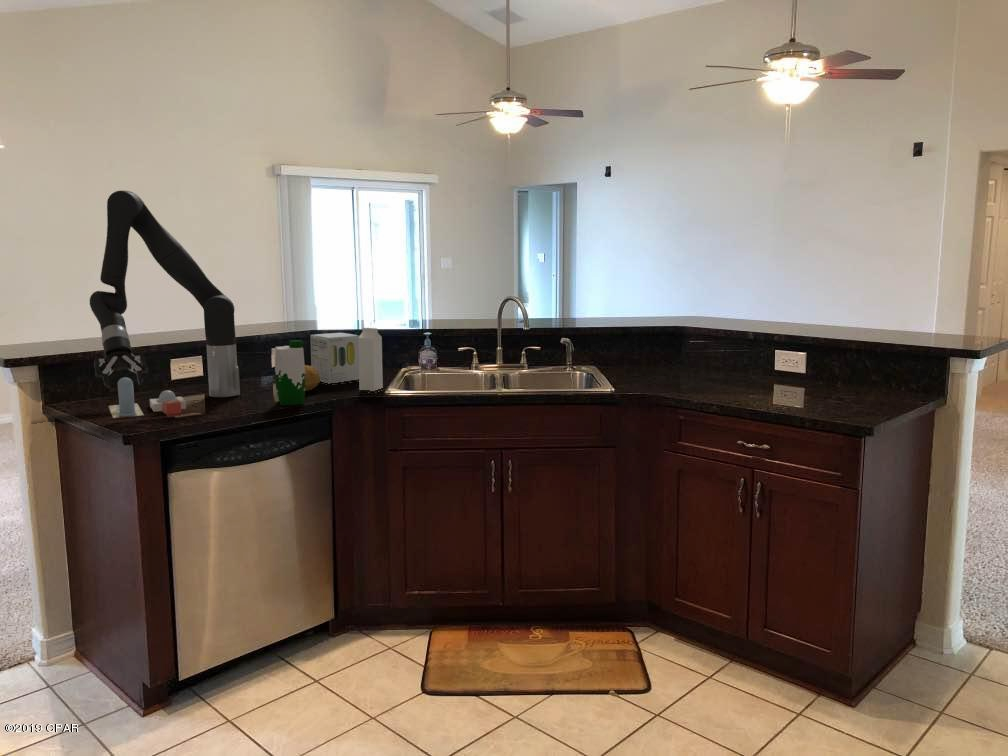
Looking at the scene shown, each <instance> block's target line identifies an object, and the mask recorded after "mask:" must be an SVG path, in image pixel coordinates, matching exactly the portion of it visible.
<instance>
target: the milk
mask: <svg viewBox="0 0 1008 756" xmlns="http://www.w3.org/2000/svg"><path fill="white" fill-rule="evenodd" d="M361 331H362V332H361V334H359V335H358V352H359V381H358V382H359V384H358V385H359V390H370V391H375V390H378V389H381V388H384V384H383V383H384V382H383V377H384V376H383V340H382V338H383V337H382V336H381V334H379V332H378V328H374V327H362V328H361Z"/></svg>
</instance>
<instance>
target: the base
mask: <svg viewBox="0 0 1008 756" xmlns="http://www.w3.org/2000/svg"><path fill="white" fill-rule="evenodd" d="M176 399H177V401H179V402H181V410H187V401H186V400H185V399H184V398H183V397H182V396H176ZM149 406H150V408H151V409H152V411H153V413H154V412H163V408H162V403H159V399H158V398H149Z"/></svg>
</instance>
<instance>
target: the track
mask: <svg viewBox="0 0 1008 756" xmlns="http://www.w3.org/2000/svg"><path fill="white" fill-rule="evenodd" d="M134 403H135V402H134ZM108 409H109V411H110V414H111V416H112V419H116V421H121V420H120V419H121V418H123V417H122V416H119V412H120V409H119V404H113V405H108ZM135 411H136V415H134V416H133V417H137V419H144V418H145V417H144V416H145V414H144V413H143V411H142V409H141V407H140V405H139V404H138V403H135ZM140 416H141V417H140ZM126 418H127V420H132V419H131V418H132V416H127V417H126Z"/></svg>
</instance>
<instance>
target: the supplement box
mask: <svg viewBox="0 0 1008 756" xmlns="http://www.w3.org/2000/svg"><path fill="white" fill-rule="evenodd" d="M358 337H359V335H357V334H352V333H348V332H347V333H346V332H331V333H330V332H329V333H318V334H317V333H316V334H310V360H311V361H310V362H311V364H310V366H312V367H314V368H315V369H316V370H317V371H318V373H319V376H320V381H321V382H324V383H328V384H330V383H338V382H344V381H351V380H358V379H359V352H358ZM324 383H323V384H324Z"/></svg>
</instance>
